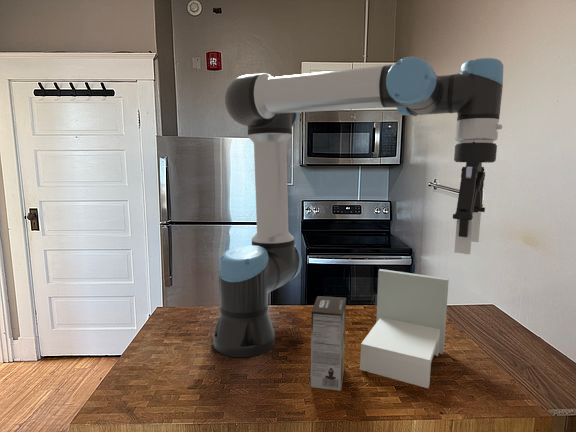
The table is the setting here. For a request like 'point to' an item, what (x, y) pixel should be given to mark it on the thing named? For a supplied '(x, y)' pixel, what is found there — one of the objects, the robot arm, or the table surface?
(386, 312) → the white toy chair
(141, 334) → the table surface
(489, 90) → the robot arm
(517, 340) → the table surface
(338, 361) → the coffee box
